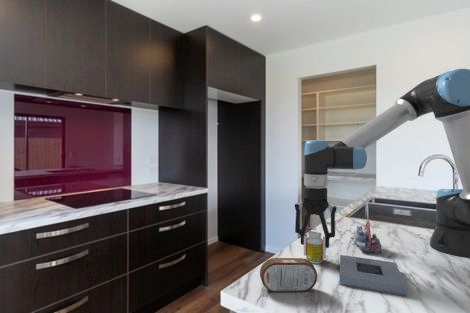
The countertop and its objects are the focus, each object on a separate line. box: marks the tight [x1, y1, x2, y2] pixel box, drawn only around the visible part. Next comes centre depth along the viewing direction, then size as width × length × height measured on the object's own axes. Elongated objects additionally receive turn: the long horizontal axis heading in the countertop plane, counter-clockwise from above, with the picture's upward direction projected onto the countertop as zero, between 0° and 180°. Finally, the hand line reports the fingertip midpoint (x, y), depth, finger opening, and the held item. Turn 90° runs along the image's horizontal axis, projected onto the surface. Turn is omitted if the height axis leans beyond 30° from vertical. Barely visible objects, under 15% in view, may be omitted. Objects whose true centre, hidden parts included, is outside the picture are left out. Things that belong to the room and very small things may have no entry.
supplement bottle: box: [305, 229, 324, 265], centre depth 90 cm, size 5×5×10 cm
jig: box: [339, 254, 408, 297], centre depth 79 cm, size 16×16×2 cm
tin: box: [259, 257, 318, 293], centre depth 71 cm, size 15×3×8 cm, turn 92°
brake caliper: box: [350, 219, 382, 254], centre depth 101 cm, size 11×11×12 cm
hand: (314, 255), depth 90 cm, fingers closed on supplement bottle, 5 cm apart
